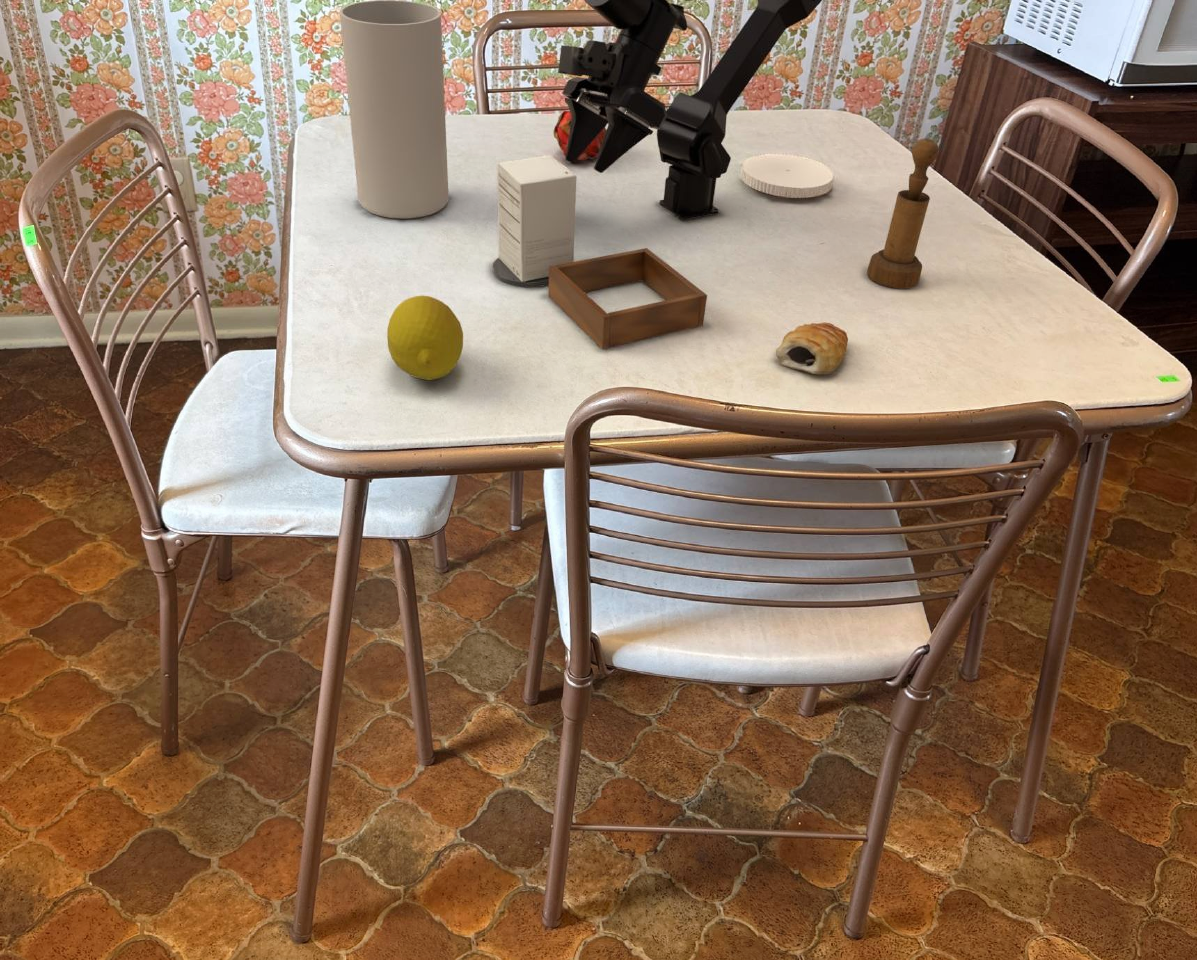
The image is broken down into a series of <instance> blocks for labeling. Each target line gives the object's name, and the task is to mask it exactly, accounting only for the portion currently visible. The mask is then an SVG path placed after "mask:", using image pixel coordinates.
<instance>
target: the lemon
mask: <svg viewBox="0 0 1197 960" xmlns="http://www.w3.org/2000/svg"><path fill="white" fill-rule="evenodd" d="M386 333H387V335H386V337H387V338H386V339H387V347H388V351H389V354H390V357H391V359H392V360H393V362H394V363H395V364H396V366H397V367H398V368H399V369H400V370H401V371H403V372H405V373H406V374H408V375H409V376H412V377H415V378H418V379H421V380H426V381H427V380H428V381H433V380H438V379H440V378H443V377H445V376H446V375H448V374H449V373H451V372H452V371H453V369H454V368H455V367H456V365H458V362H459V361H460V358H461V355H462V352H463V347H464V331H463V327H462V325H461V322H460V320H459V318H458V317H457V316H456V314H455V313H454V311H453V310H452V309H451V307H449V306H448V305H447V304H446V303H445V302H443V301H442V300H439V299H437V298H435V297H433V296H429V295H416V296H413V297H408V298H407V299H405V300H403V301H402V302H401V303H399V304H398V305H396V308H395V309H394V310H393V312H392V314H391V316H390V318H389V321H388V325H387V332H386Z"/></svg>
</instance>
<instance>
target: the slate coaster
mask: <svg viewBox="0 0 1197 960" xmlns="http://www.w3.org/2000/svg"><path fill="white" fill-rule="evenodd" d="M492 273H493V275H494V276H495V278H497V279H498V280H499V281H501V282H503V283H505V284H508V285H511V286H516V287H522V288H538V287H539V288H540V287H544V286H549V277H544V278H539V279H534V280H529V281H525V282H522V281H521V280H520V279H519V278H518V277H517V276H516V275H515V274H514V273H513V272H512V271H511V270H510V269H509V268H508V267H507V266H506V265H505V264H504V263H503V262H502V261H501V260H500V258H499V257H497V258H496V259H495V260H494V261H493V263H492Z"/></svg>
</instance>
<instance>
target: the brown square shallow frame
mask: <svg viewBox="0 0 1197 960" xmlns="http://www.w3.org/2000/svg"><path fill="white" fill-rule="evenodd" d="M641 281H642V282H643V283H644V284H645V285H647V286H648V287H649V288H651V289H652V290H653V291H654V292H655V293H657V294H658V295H659V296H660V297H661V298H662V299H663V300H662V301H657V302H652V303H648V304H643V305H638V306H634V307H630V308H629V307H628V308H625V309H621V310H616V311H611V312H607V311H605V310H604V309H603V308H602V307H601V306H600V305H599V304H598V303H597V302H596V301H594V299H592V298H591V296H589V295H588V294H587V293H588V292H592V291H599V290H603V289H607V288H613V287H617V286H622V285H627V284H631V283H636V282H641ZM547 293H548V295H547V296H548V298H549V299H550V300H551V301H552V302H553V303H554V304H555V305H556V306H557V307H559V309H561V311H562V312H563V313H564V314H566V315H567V316H568V317H569V319H571V320H572V321H573V322H574V323H575V324H576V325H577V326H578V327H579V328H580V329H581V330H582V331H583V332H584V333H585V334H586V335H587V336H588V337H589V338H591V340H592V341H594V343H595V344H596V345H597V346H599V348H601V349H602V350H604V349H609V348H612V347H616V346H622V345H625V344H629V343H633V342H639V341H642V340H646V339H651V338H655V337H656V338H657V337H660V336H664V335H668V334H673V333H677V332H681V331H685V330H689V329H694V328H697V327H702V326H704V322H705V315H706V308H707V299H708V294H706V293H705V292H704V291H703V290H701V289H700V288H699V287H697V286H696V285H695V284H694V283H693V282H691V281H690V280H688V279H687V278H686V277H685V276H683V275H682V274H681V273H680V272H678V271H677V270H676V269H674V268H673V267H672V266H671V265H669V264H668V263H667V262H666V261H664V260H663V259H662V258H660V257H659V256H658V255H657V254H655V253H654V252H653V251H651V250H650V249H649V248H648V247H644V248H639V249H633V250H629V251H624V252H619V253H613V254H607V255H602V256H598V257H591V258H587V259H582V260H577V261H576V260H575V261H574V262H570V263H565V264H560V265H554V266H549V285H548V292H547Z"/></svg>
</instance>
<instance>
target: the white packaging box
mask: <svg viewBox="0 0 1197 960" xmlns="http://www.w3.org/2000/svg"><path fill="white" fill-rule="evenodd" d="M496 167H497V168H496V170H497V171H496V175H497V234H498V236H497V237H498V240H497V241H498V243H497V245H498V258H500V260H501V261H502V262H503V263H504V264H505V265H506V266H507V267H508V268H509V269H510V270H511V271H512V272H513V273H514V274H515V275H516V276H517V277H518V278H519V279H520V280H521V281H522V282H525V281H529V280H534V279H539V278H544V277H549V266H554V265H560V264H565V263H570V262H575V261H574V258H575V234H576V233H575V232H576V230H575V229H576V201H577V175H576V174H575V173H574V172H572V170H570V169H569V168H567V167H566V166H565V165H564V164H562V163H561V162H560V161H559V160H557V159H556V158H555V157H553V156H552V155H550V154H549V155H542V156H541V155H540V156H534V157H528V158H522V159H513V160H508V161H499V162H497V163H496Z"/></svg>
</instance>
